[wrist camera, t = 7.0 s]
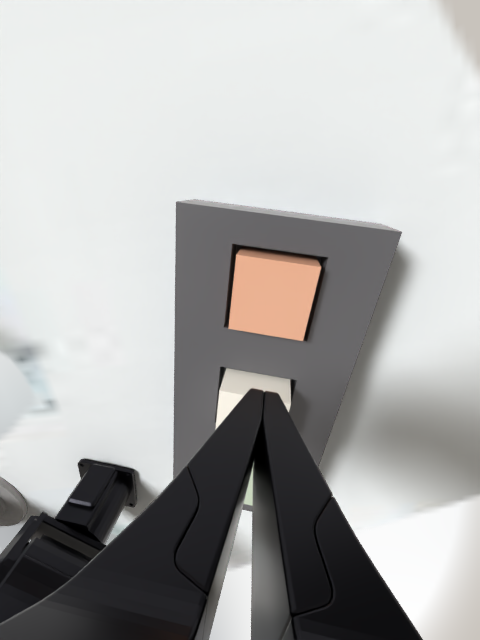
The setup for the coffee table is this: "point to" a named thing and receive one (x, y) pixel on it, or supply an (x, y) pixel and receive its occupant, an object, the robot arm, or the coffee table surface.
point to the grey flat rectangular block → (263, 350)
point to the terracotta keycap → (273, 292)
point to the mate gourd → (11, 504)
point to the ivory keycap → (239, 385)
